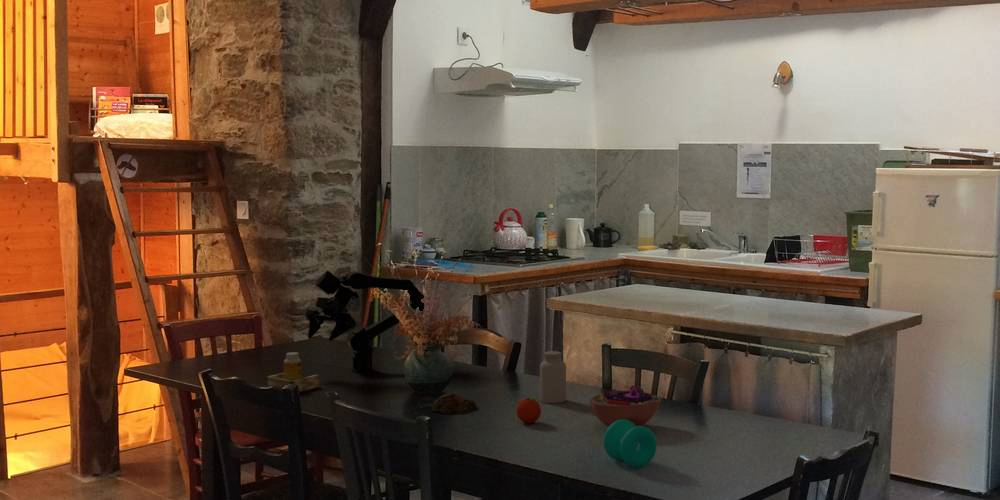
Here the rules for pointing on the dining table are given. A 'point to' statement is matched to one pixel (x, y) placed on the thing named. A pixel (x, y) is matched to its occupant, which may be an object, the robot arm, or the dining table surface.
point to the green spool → (630, 443)
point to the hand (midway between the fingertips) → (319, 339)
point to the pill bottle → (552, 378)
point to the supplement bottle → (292, 366)
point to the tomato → (528, 410)
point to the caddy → (293, 381)
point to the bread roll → (453, 404)
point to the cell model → (625, 406)
